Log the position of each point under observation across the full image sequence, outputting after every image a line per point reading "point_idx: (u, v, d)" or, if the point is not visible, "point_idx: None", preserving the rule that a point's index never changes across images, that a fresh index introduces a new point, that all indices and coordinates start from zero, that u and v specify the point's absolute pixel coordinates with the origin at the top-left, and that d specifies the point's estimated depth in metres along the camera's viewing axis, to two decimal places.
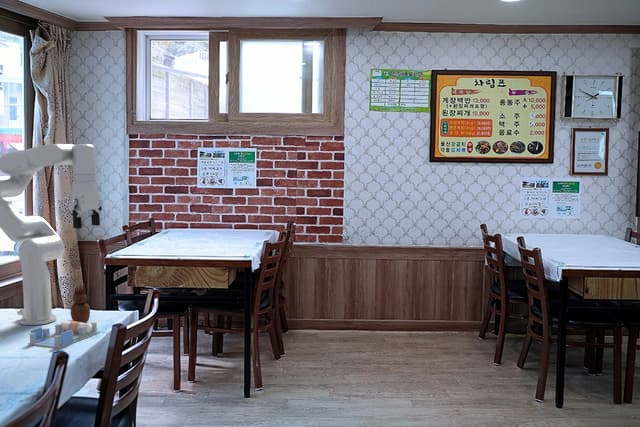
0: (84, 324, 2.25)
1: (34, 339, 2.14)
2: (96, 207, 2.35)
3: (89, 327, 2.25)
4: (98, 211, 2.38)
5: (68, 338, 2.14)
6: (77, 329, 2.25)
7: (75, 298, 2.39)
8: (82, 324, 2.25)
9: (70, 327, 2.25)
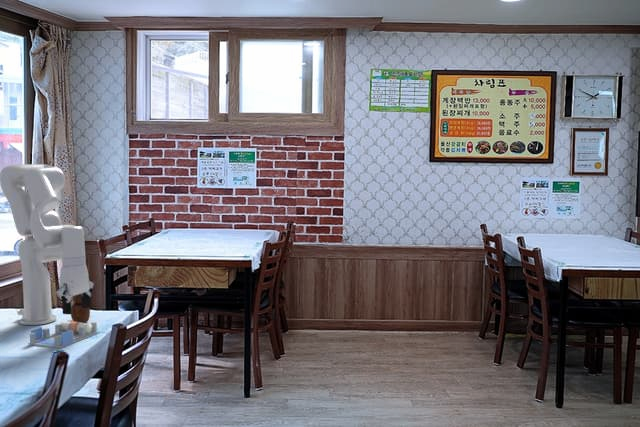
0: (83, 325, 2.24)
1: (34, 339, 2.14)
2: (86, 290, 2.27)
3: (89, 327, 2.25)
4: (88, 293, 2.30)
5: (68, 338, 2.14)
6: (77, 330, 2.25)
7: (75, 298, 2.39)
8: (81, 325, 2.24)
9: (70, 328, 2.25)
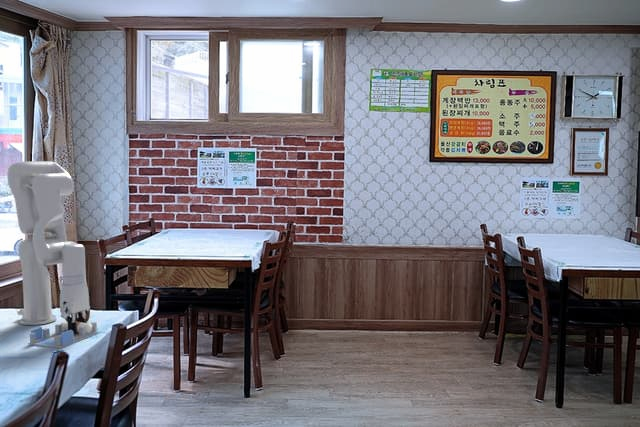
0: (84, 324, 2.25)
1: (34, 339, 2.14)
2: (86, 307, 2.28)
3: (89, 327, 2.25)
4: (83, 316, 2.28)
5: (68, 338, 2.14)
6: (77, 330, 2.25)
7: None
8: (82, 324, 2.25)
9: None
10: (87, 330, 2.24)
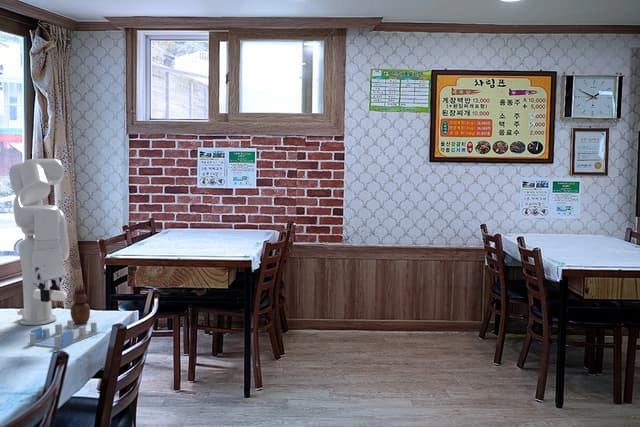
0: (57, 292, 2.12)
1: (34, 339, 2.14)
2: (60, 274, 2.16)
3: (63, 295, 2.12)
4: (57, 283, 2.16)
5: (68, 338, 2.14)
6: (51, 298, 2.12)
7: (75, 298, 2.39)
8: (55, 292, 2.12)
9: None
10: (61, 298, 2.12)
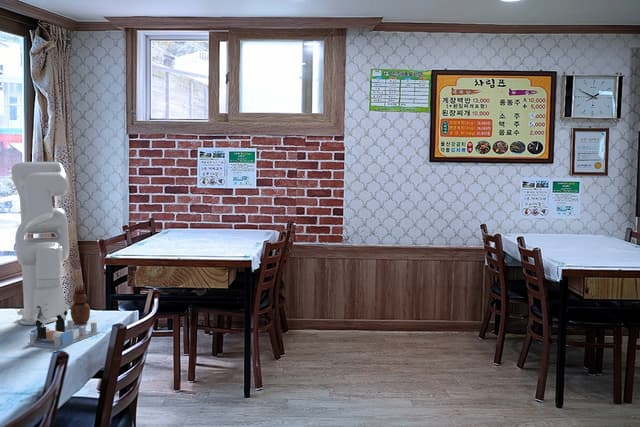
0: (59, 333, 2.13)
1: (34, 339, 2.14)
2: (62, 312, 2.17)
3: None
4: (63, 317, 2.19)
5: (68, 338, 2.14)
6: (52, 339, 2.14)
7: (75, 298, 2.39)
8: (57, 333, 2.13)
9: None
10: None
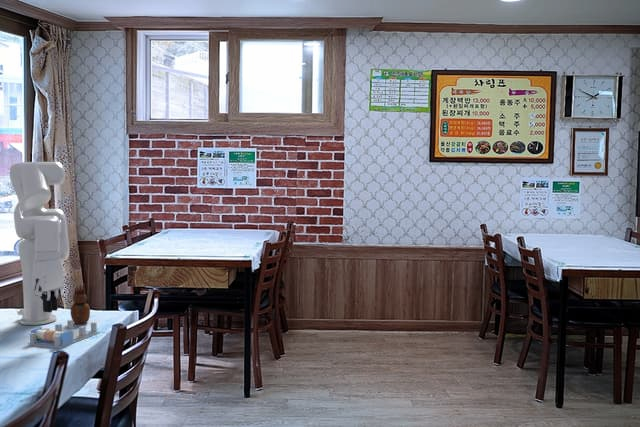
0: (59, 333, 2.13)
1: (34, 339, 2.14)
2: (61, 285, 2.16)
3: None
4: (55, 295, 2.15)
5: (68, 338, 2.14)
6: (52, 338, 2.14)
7: (75, 298, 2.39)
8: (57, 333, 2.14)
9: (45, 336, 2.14)
10: None
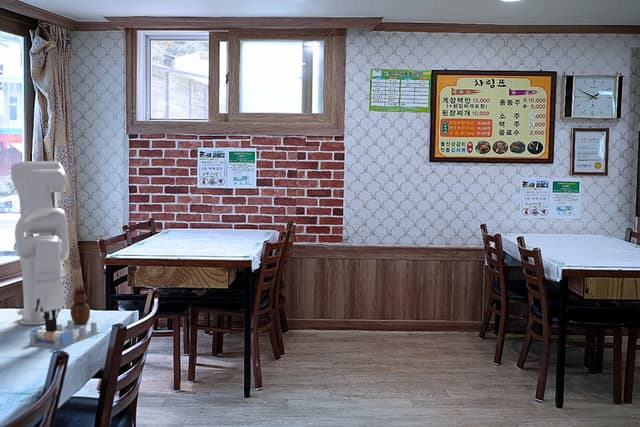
0: (60, 333, 2.14)
1: (34, 339, 2.14)
2: (61, 305, 2.17)
3: None
4: (55, 315, 2.15)
5: (68, 338, 2.14)
6: (52, 338, 2.14)
7: (75, 298, 2.39)
8: (57, 333, 2.14)
9: (45, 336, 2.14)
10: None
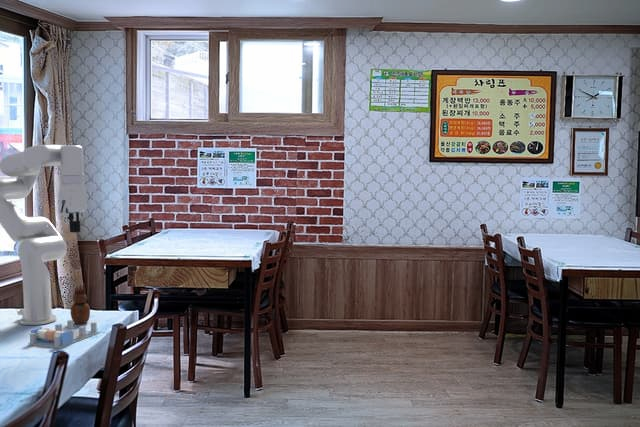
0: (61, 332, 2.14)
1: (34, 339, 2.14)
2: (84, 209, 2.32)
3: None
4: (78, 217, 2.31)
5: (68, 338, 2.14)
6: (53, 337, 2.14)
7: (75, 298, 2.39)
8: (59, 332, 2.14)
9: (46, 335, 2.15)
10: None
